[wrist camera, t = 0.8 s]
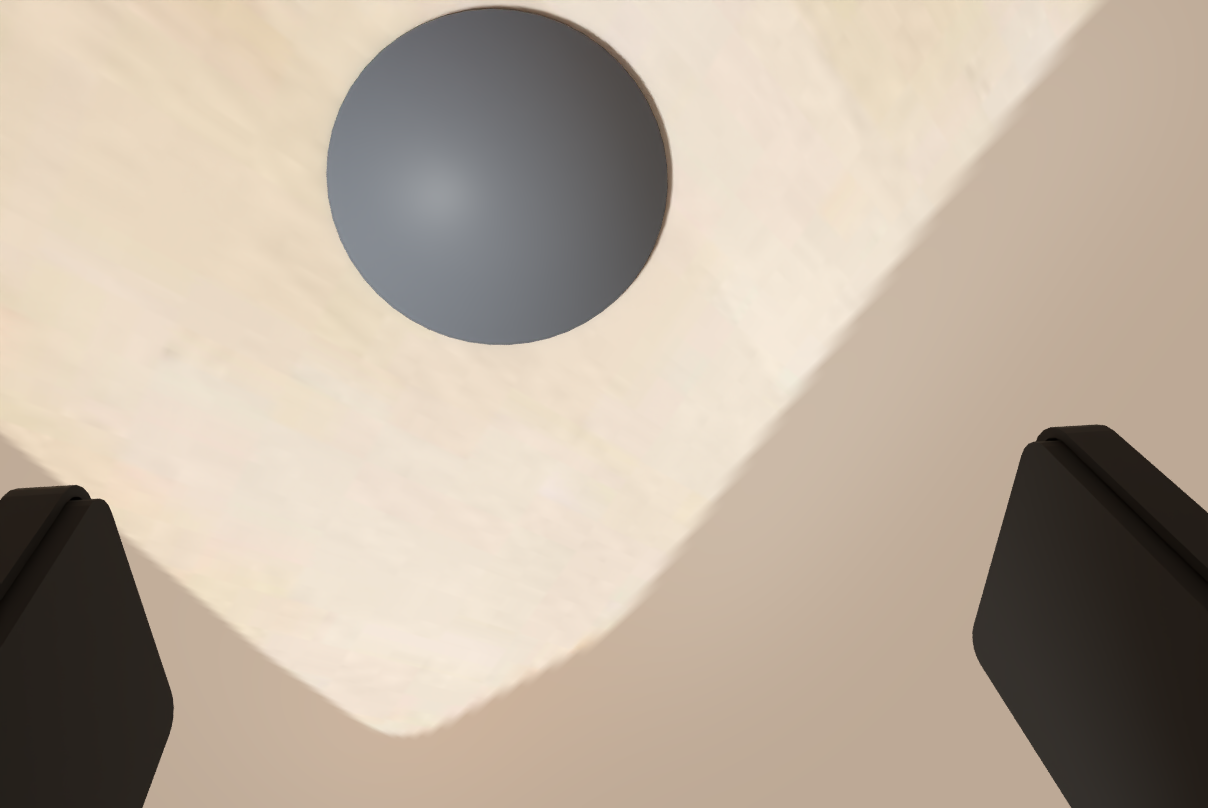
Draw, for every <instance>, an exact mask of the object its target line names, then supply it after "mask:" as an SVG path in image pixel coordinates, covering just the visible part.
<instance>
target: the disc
mask: <svg viewBox="0 0 1208 808" xmlns="http://www.w3.org/2000/svg"><path fill="white" fill-rule="evenodd" d="M327 187H328V198H329V203H330V208H331V212H332V217H333V221H334V223H335V226H336V229H337V232H338V234H339V237H340V240H341V242H342V244H343V246H344V248H345V250H346V252H347V254H348V256H349V258H350V259H351V261H352V262H353V264H354V265H355V267H356V268H357V270H358V271H359V273H360V274H361V276H362V277H363V278H364V279H365V280H366V282H367V283H368V284H369V285H370V286H371V287H372V288H373V290H374V291H375V292H376V293H377V294H378V295H379V296H380V297H382V298H383V299H384V300H385V301H386V302H387V303H388V304H389V305H391V306H392V307H393V308H394V309H396V310H397V311H399V312H400V313H402V314H403V315H404V316H406V317H407V318H409V319H410V320H412V321H414V322H416V323H418V324H420V325H422V326H424V327H425V328H427V329H429V330H432V331H435V332H437V333H440V334H442V335H445V336H448V337H451V338H455V339H459V340H463V341H467V342H473V343H481V344H489V345H512V344H521V343H530V342H534V341H539V340H543V339H547V338H551V337H554V336H556V335H559V334H562V333H565V332H568V331H570V330H572V329H574V328H576V327H578V326H580V325H582V324H584V323H586V322H587V321H589V320H590V319H592V318H593V317H595V316H596V315H598V314H599V313H601V312H602V311H604V310H605V309H606V308H607V307H608V306H610V305H611V304H612V303H613V302H614V301H615V300H617V299H618V298H619V297H620V296H621V294H622V293H623V292H624V291H625V290H626V289H627V288H628V287H629V286H630V285H631V283H632V282H633V281H634V279H635V278H636V276H637V275H638V274H639V272H640V271H641V269H642V268H643V267H644V265H645V263H646V261H647V259H648V257H649V255H650V253H651V251H652V250H653V247H654V245H655V242H656V239H657V237H658V234H659V231H660V229H661V225H662V220H663V216H664V212H665V206H666V197H667V164H666V157H665V151H664V145H663V141H662V138H661V134H660V131H659V128H658V124H657V122H656V119H655V117H654V115H653V113H652V111H651V108H650V106H649V104H648V102H647V100H646V99H645V97H644V95H643V94H642V92H641V90H640V89H639V87H638V86H637V84H636V82H635V81H634V80H633V79H632V78H631V76H630V75H629V74H628V73H627V72H626V70H625V69H624V68H623V67H622V65H621V64H620V63H619V62H618V61H617V60H616V59H614V58H613V57H612V56H611V55H610V54H609V53H608V52H607V51H606V50H605V49H604V48H603V47H601V46H600V45H598V44H597V43H595V42H594V41H593V40H591V39H590V38H588V37H587V36H585V35H584V34H582V33H580V32H578V31H577V30H575V29H573V28H571V27H569V26H567V25H565V24H563V23H561V22H558V21H555V20H552V19H549V18H546V17H544V16H541V15H537V14H532V13H527V12H522V11H517V10H505V9H481V10H468V11H463V12H459V13H454V14H450V15H445V16H442V17H439V18H437V19H434V20H432V21H429V22H426V23H424V24H421V25H419V26H418V27H416V28H414V29H412V30H410V31H409V32H407V33H405V34H403V35H402V36H400V37H399V38H397V39H396V40H395V41H393V42H392V43H391V44H389V45H388V46H387V47H386V48H384V49H383V50H382V51H381V52H380V53H379V54H378V55H377V56H376V57H375V58H374V59H373V60H372V61H371V62H370V63H369V64H368V65H367V66H366V67H365V68H364V70H363V71H362V72H361V74H360V75H359V77H358V78H357V79H356V81H355V82H354V84H353V85H352V86H351V88H350V90H349V92H348V94H347V96H346V97H345V99H344V101H343V103H342V105H341V107H340V109H339V112H338V115H337V118H336V121H335V124H334V126H333V129H332V134H331V139H330V144H329V149H328V157H327Z"/></svg>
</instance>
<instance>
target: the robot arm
mask: <svg viewBox="0 0 1208 808" xmlns="http://www.w3.org/2000/svg"><path fill="white" fill-rule="evenodd" d="M972 634H973V645H974V650H975V653H976V656H977V658H978V660H979V662H980V664H981V666H982V667H983V669H984V671H985V672H986V674H987V675H988V677H989V678H990V680H991V682H992V683H993V685H994V686H995V688H996V690H997V691H998V693H999V694H1000V696H1001V697H1002V699H1003V701H1004V702H1005V704H1006V705H1007V707H1008V709H1009V710H1010V711H1011V713H1012V715H1013V716H1014V718H1015V720H1016V721H1017V723H1018V724H1019V726H1020V727H1021V729H1022V731H1023V732H1024V734H1025V735H1026V737H1027V738H1028V740H1029V742H1030V743H1031V745H1032V746H1033V748H1034V750H1035V751H1036V753H1037V754H1038V756H1039V757H1040V759H1041V761H1042V762H1043V764H1044V765H1045V767H1046V768H1047V770H1048V772H1049V773H1050V775H1051V776H1052V778H1053V780H1054V781H1055V783H1056V784H1057V786H1058V787H1059V789H1060V790H1061V792H1062V794H1063V795H1064V797H1065V798H1066V800H1067V801H1068V803H1069V805H1070V806H1071V808H1208V513H1207V512H1206V511H1205V510H1204V509H1203V508H1202V507H1201V506H1199V505H1198V504H1197V503H1196V502H1195V501H1194V500H1193V499H1191V498H1190V497H1189V496H1188V495H1187V494H1186V493H1184V492H1183V491H1182V490H1181V489H1180V488H1179V487H1178V486H1177V485H1175V484H1174V483H1173V482H1172V481H1171V480H1170V479H1169V478H1167V477H1166V476H1165V475H1164V474H1163V473H1162V472H1161V471H1159V470H1158V469H1157V468H1156V467H1155V466H1154V465H1152V464H1151V463H1150V462H1149V461H1148V460H1147V459H1146V458H1144V457H1143V456H1142V455H1141V454H1140V453H1139V452H1138V451H1136V450H1135V449H1134V448H1133V447H1132V446H1131V445H1130V444H1128V443H1127V442H1126V441H1125V440H1124V439H1123V438H1122V437H1120V436H1119V435H1118V434H1117V433H1116V432H1115V431H1113V430H1112V429H1110V428H1108V427H1107V426H1105V425H1082V426H1066V427H1050V428H1048V429H1045V430H1044V431H1043V432H1042V433H1041V434H1040V435H1039V436H1038V438H1037V440H1036V442H1032V443H1030V444H1028V445H1027V446H1026V447H1025V448H1024V451H1023V453H1022V455H1021V459H1020V462H1019V466H1018V470H1017V473H1016V477H1015V480H1014V484H1013V487H1012V491H1011V495H1010V498H1009V502H1008V505H1007V509H1006V512H1005V516H1004V520H1003V523H1002V526H1001V530H1000V534H999V537H998V541H997V544H996V548H995V551H994V555H993V559H992V563H991V566H990V569H989V573H988V576H987V580H986V584H985V587H984V590H983V594H982V598H981V601H980V605H979V608H978V612H977V615H976V619H975V622H974V626H973V633H972ZM173 709H174V707H173V697H172V693H171V690H170V686H169V683H168V680H167V677H166V674H165V672H164V668H163V665H162V662H161V659H160V656H159V653H158V650H157V647H156V644H155V642H154V638H153V635H152V632H151V629H150V626H149V623H148V620H147V617H146V614H145V611H144V608H143V605H142V602H141V599H140V596H139V593H138V590H137V587H136V584H135V581H134V578H133V575H132V572H131V570H130V566H129V563H128V560H127V557H126V554H125V551H124V548H123V545H122V542H121V539H120V536H119V533H118V530H117V527H116V524H115V521H114V518H113V515H112V512H111V510H110V508H109V505H108V504H107V503H106V502H105V501H104V500H102V499H91V498H90V496H89V494H88V493H87V491H86V490H85V489H84V488H83V487H80V486H78V485H69V486H52V487H35V488H18V489H14V490H10V491H9V492H8V493H7V494H5V495H4V496H3V497H2V499H1V500H0V808H142V807H143V805H144V802H145V799H146V796H147V793H148V791H149V788H150V786H151V783H152V780H153V777H154V775H155V772H156V769H157V767H158V764H159V761H160V758H161V755H162V753H163V750H164V747H165V745H166V742H167V739H168V737H169V734H170V730H171V727H172V721H173Z"/></svg>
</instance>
